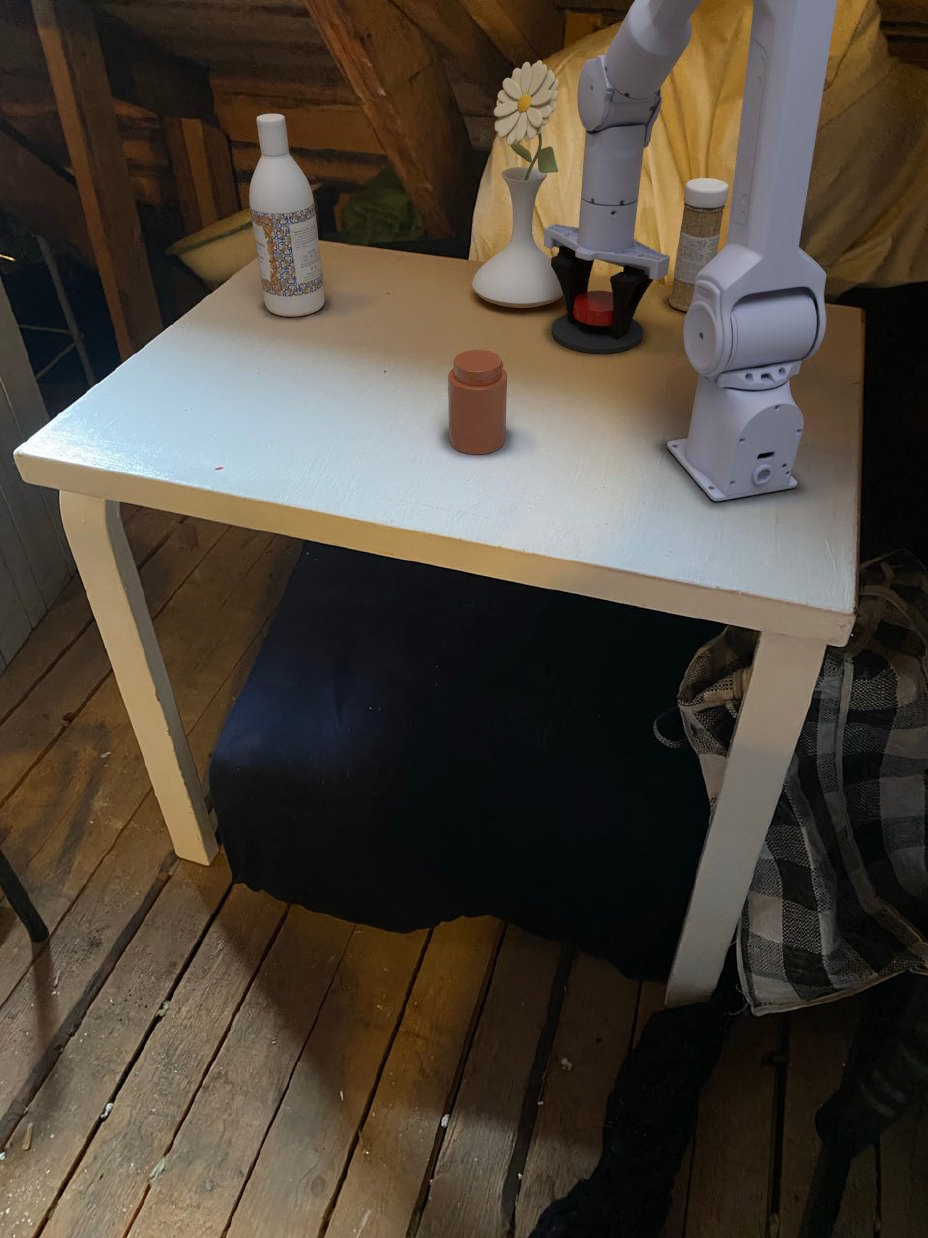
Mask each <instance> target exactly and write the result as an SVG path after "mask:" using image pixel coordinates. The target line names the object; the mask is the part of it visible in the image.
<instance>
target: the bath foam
mask: <svg viewBox="0 0 928 1238" xmlns="http://www.w3.org/2000/svg"><path fill="white" fill-rule="evenodd" d="M255 121H256V127H257V134H258V141H259V147H260V148H259V149H260V153H261V156H260V158H259V160H258V162H257V165H256V167H255V169H254V171H253V174H252V177H251V179H250V180H251V181H250V184H249V192H248V193H249V194H248V198H249V199H248V201H249V211H250V216H251V223H252V230H253V236H254V243H255V249H256V255H257V262H258V268H259V274H260V282H261V288H262V293H263V300H264V304H265V307H266V310H268V311H269V312H270V313H271V314H274V315H276V316H281V317H289V318H290V317H292V318H294V317H295V318H296V317H302V316H307V315H311V314H313V313H316V312H318V311H320V310H321V309H322V307H323V306H324V305H325V301H326V299H325V289H324V277H323V269H322V267H323V266H322V260H321V250H320V240H319V233H318V232H319V231H318V224H317V213H316V206H315V199H314V194H313V191H312V188H311V185H310V182H309V180H308V177H306V175H305V173H304V171H303V170H302V169H301V167H300V166H299V165H298V163H297V162H296V160H295V159H294V158H293V156H292V155H291V154H290V148H289V139H288V131H287V124H286V123H287V122H286V117H285V115H283V114H280V113H264V114H261V115H258V116H257V117H256V120H255Z"/></svg>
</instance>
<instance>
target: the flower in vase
mask: <svg viewBox="0 0 928 1238" xmlns="http://www.w3.org/2000/svg"><path fill="white" fill-rule="evenodd" d="M511 75H512V76H511V77H506V78H504V80H503V81H502V88H503V89H501V90H500V91H499V92H498V93H497V100H496V107H495V108H494V109H493V115H494V116H495V117H496V118H497V119H496V120H495V121H494V131H495V132H496V133H498V138H505V143H506V145H507V146H509V147H510V148H511V150H513V152H515V153H516V154H517V155H518V156H519V157H521V158H522V159H523V160H525V161H526V162H527V163H530V164H529V166H516V167H514V166H513V167H510V168H506V169H504V170H502V172H501V173H500V174H501V177H502V179H503V180H504V182H505V184H506V185H507V188H508V191H509V195H510V200H511V209H512V227H511V230H512V231H511V236H510V239H509V241H508V243H507V245H505V247H504V248H502V249H501V250H500V251H499V252H498V253H496V254H495V255H493V256H492V257H491V258H490V259H489V260H487V261H485V262H484V263H483V265H481V267H479V269H478V270H476V272H475V273H474V277H473V278H472V282H471V286H472V289H473V290H474V292H475V293H476V294H477V295H478V297H480V298H481V299H482V300H484V301H486V302H488V303H491V304H494V305H498V306H501V307H506V308H512V309H513V308H515V309H527V308H528V309H530V308H536V307H537V308H538V307H540V306H545V305H550V304H552V303H555V302H557V301H558V300H560V299H562V297H564V296H563V292H562V289H561V286H560V283H559V280H558V278H557V276H556V274H555V272H554V270H553V268H552V267H551V258H552V257H550V256H549V255H547V254H546V253H545V252H544V251H543V250H542V249H541V248H540V247H538V245H537V244H536V242H535V238H534V233H533V221H534V210H535V204H536V200H537V195H538V193H539V189H540V188H541V186H542V184H543V183H544V181H545V180H546V179H547V177H548V174H552V173H558V172H559V168H558V164H557V161H556V156H555V151H554V148H553V146H546V147H543V148H542V146H543V138H542V137H543V136H542V127H545V126H547V124H548V123H549V120H550V117H551V115H552V114H553V113H554V112H555V111H556V110H557V106H558V105H557V102H556V100H557V98H558V95H559V91H558V88H559V85H560V83H559V82H560V81H559V80H558V79H556V75H555V74H554V72H553V70H552V69H549V70H548V66H547V65H546V64H545V63H543V61H542V60H540V59H539V60H537V61H536V62H534V63H533V64H532V65H531V64H530V62H528V61H525V62H524V63H522V67H521V68H519V67H516V68H514V69H513V70H512V74H511ZM536 136H537V138H538V139H537V140H538V144H537V145H538V146H537V150H536V152H535V154H534V157H533V158H532V153H531V152H530V151H529V150H528V149H527V148H526V147H525V146H523V145H522V144H521V142H522V141H523V140H524V141H525V142H526V143H528V142H530V141H531V140H533V139H534V138H535V137H536ZM536 161H537V167H534V165H535V164H536Z"/></svg>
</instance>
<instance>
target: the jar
mask: <svg viewBox="0 0 928 1238" xmlns="http://www.w3.org/2000/svg"><path fill="white" fill-rule="evenodd" d="M452 364H453V368H451V369H450V370H449V372H448V373H447V391H448V393H447V394H448V395H447V397H448V441H449V443H450V446H451V447H452V448H453V449H455V450H456V451H458V452H461V453H463V454H468V455H478V456H479V455H488V454H491V453H494V452H496V451H499V450H500V449H501V448H502V447H503V446H504V445H505V443H506V437H507V436H506V435H507V434H506V433H507V398H508V396H507V395H508V373H507V371H506V370H505V369H504V362H503V360H502V358H501V356H500V355H499V354H498V353H495V352H493V351H490V350H486V349H470V350H466V351H462V352H460V353H457V354H456V355H455V356H454V358H453V363H452Z"/></svg>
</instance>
